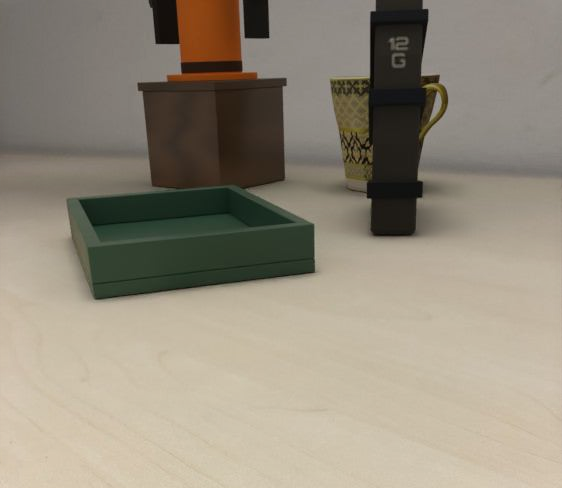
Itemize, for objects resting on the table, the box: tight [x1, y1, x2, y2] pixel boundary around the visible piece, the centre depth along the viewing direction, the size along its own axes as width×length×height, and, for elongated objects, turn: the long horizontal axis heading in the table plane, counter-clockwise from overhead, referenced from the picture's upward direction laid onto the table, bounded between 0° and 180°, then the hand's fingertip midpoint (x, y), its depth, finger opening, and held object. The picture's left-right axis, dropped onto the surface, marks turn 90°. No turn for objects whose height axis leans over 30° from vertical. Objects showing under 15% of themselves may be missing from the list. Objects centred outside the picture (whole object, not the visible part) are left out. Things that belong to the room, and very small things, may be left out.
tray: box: [65, 185, 316, 300], centre depth 46 cm, size 17×13×3 cm
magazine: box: [366, 0, 430, 236], centre depth 52 cm, size 4×13×15 cm, turn 173°
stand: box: [136, 77, 288, 189], centre depth 72 cm, size 11×11×10 cm
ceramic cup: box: [329, 73, 449, 193], centre depth 65 cm, size 13×10×10 cm
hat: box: [166, 0, 258, 82], centre depth 68 cm, size 9×9×10 cm
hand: (210, 41), depth 69 cm, fingers open, 11 cm apart
